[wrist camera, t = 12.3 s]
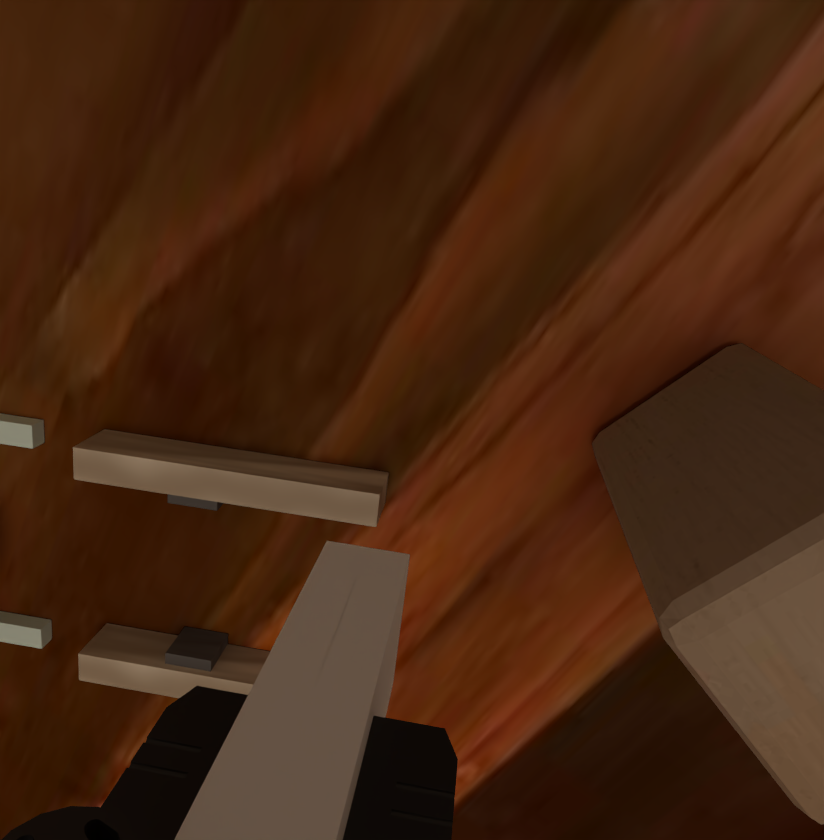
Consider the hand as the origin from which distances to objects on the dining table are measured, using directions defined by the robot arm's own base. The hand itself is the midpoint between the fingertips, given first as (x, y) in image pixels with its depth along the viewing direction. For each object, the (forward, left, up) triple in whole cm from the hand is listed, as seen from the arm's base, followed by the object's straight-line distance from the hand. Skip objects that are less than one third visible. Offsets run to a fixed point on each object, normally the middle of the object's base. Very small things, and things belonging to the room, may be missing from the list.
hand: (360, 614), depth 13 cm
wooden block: (+5, +15, -29) cm, 33 cm away
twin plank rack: (+17, -12, -29) cm, 36 cm away
